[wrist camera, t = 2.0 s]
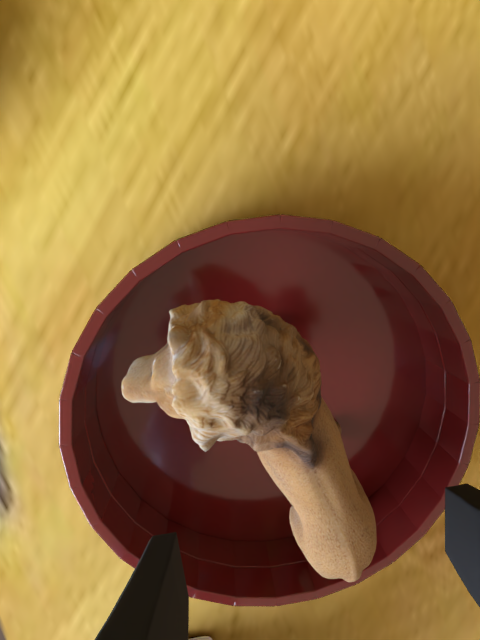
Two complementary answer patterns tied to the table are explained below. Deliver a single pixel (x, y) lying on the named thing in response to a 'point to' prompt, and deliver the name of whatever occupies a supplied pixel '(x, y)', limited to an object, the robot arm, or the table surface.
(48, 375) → the table surface
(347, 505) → the lion figurine
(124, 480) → the bowl
